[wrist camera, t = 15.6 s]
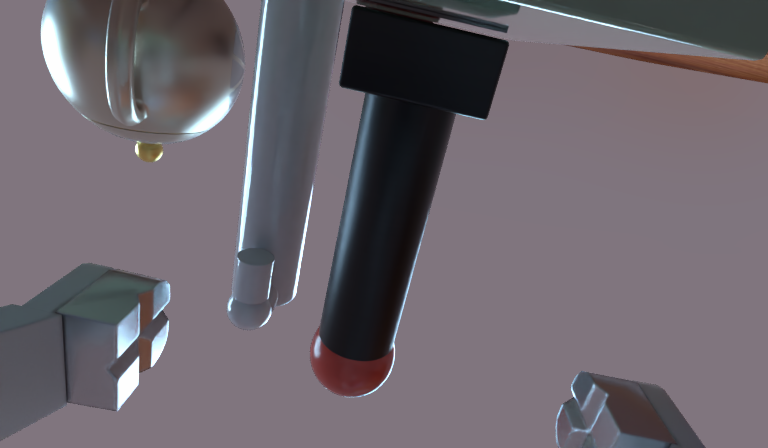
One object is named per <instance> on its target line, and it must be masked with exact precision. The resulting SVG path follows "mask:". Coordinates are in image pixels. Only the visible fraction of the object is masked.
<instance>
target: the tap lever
mask: <svg viewBox="0 0 768 448" xmlns="http://www.w3.org/2000/svg"><path fill="white" fill-rule="evenodd" d="M508 46H509V43H508V42H507V41H506V40H502V39H497V38H493V37H489V36H485V35H480V34H476V33H472V32H468V31H463V30H459V29H455V28H451V27H446V26H442V25H438V24H434V23H429V22H425V21H421V20H417V19H412V18H408V17H404V16H400V15H396V14H391V13H387V12H383V11H379V10H374V9H370V8H366V7H361V6H357V5H356V6H353V8H352V11H351V17H350V23H349V29H348V34H347V40H346V46H345V52H344V58H343V63H342V69H341V75H340V81H339V85H340V86H341V87H342V88H346V89H351V90H355V91H359V92H364V93H365V98H364V104H363V108H362V114H361V119H360V124H359V129H358V134H357V140H356V145H355V150H354V155H353V160H352V165H351V170H350V175H349V180H348V185H347V190H346V196H345V201H344V206H343V211H342V216H341V221H340V226H339V232H338V237H337V242H336V247H335V252H334V257H333V262H332V267H331V273H330V278H329V283H328V288H327V293H326V298H325V304H324V308H323V313H322V319H321V324H320V326H319V328H318V329H317V331H316V332H315V335H314V337H313V339H312V343H311V347H310V361H311V366H312V369H313V372H314V374H315V376H316V377H317V379H318V380H319V382H320V383H321V384H322V385H323V386H324V387H325V388H327V389H328V390H329V391H331V392H332V393H334V394H337V395H340V396H344V397H360V396H364V395H366V394H369V393H371V392H373V391H374V390H376V389H377V388H378V387H380V386H381V385H382V384H383V382H384V381H385V380H386V379H387V377H388V376H389V374H390V372H391V370H392V367H393V363H394V358H395V347H394V340H395V336H396V332H397V329H398V325H399V321H400V318H401V314H402V311H403V307H404V303H405V299H406V296H407V292H408V289H409V285H410V281H411V277H412V274H413V270H414V266H415V262H416V259H417V255H418V252H419V248H420V244H421V241H422V237H423V233H424V230H425V226H426V222H427V219H428V215H429V211H430V208H431V204H432V200H433V196H434V193H435V189H436V185H437V182H438V178H439V175H440V171H441V167H442V163H443V160H444V156H445V153H446V149H447V145H448V141H449V138H450V134H451V130H452V127H453V123H454V119H455V116H456V114H459V115H464V116H468V117H473V118H477V119H481V120H484V119H486V118H487V117H488V114H489V111H490V107H491V104H492V100H493V97H494V94H495V91H496V87H497V84H498V81H499V77H500V74H501V70H502V67H503V63H504V60H505V57H506V54H507V50H508Z"/></svg>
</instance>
